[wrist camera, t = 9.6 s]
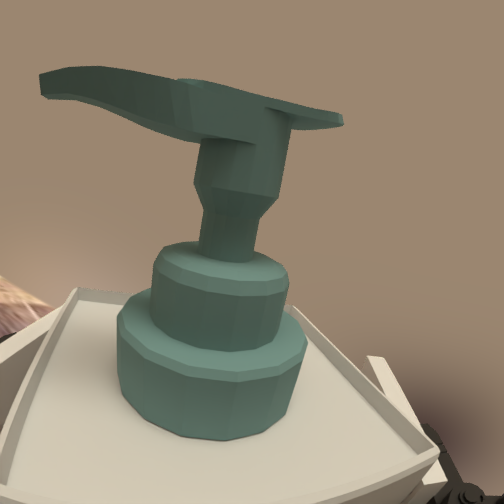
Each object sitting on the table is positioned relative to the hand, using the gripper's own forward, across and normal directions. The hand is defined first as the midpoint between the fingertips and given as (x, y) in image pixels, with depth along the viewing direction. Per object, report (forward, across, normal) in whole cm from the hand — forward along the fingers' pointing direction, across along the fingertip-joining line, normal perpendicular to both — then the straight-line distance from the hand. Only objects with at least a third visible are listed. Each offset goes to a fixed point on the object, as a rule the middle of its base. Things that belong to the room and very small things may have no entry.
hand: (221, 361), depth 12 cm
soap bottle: (-4, 0, -11) cm, 11 cm away
